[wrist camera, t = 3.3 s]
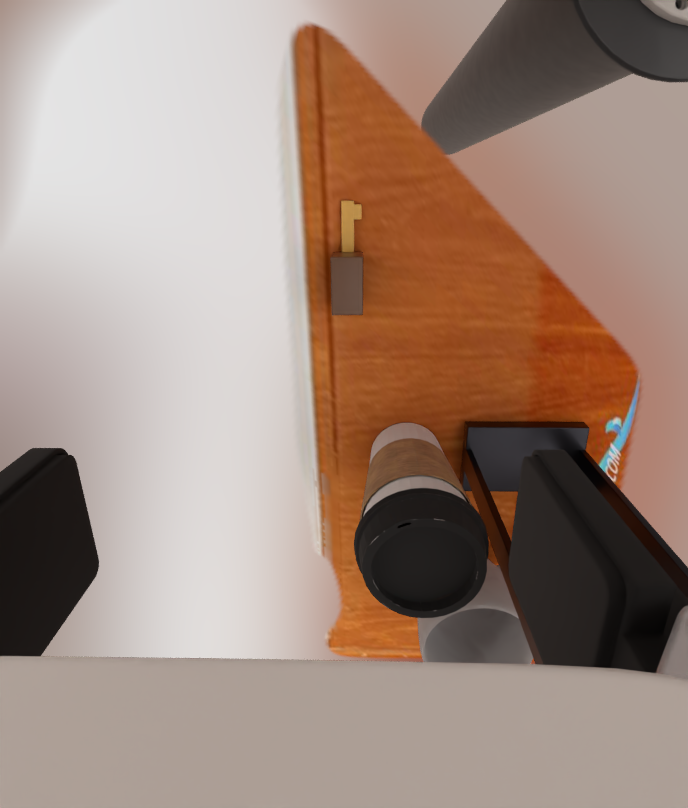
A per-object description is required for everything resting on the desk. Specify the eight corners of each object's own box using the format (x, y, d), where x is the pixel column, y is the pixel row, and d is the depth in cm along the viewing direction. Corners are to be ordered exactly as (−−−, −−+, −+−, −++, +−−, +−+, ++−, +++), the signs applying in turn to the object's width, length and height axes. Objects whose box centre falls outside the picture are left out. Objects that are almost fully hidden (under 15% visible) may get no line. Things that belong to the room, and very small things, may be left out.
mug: (427, 613, 50) (442, 703, 41) (396, 544, 47) (404, 625, 38) (548, 578, 48) (591, 665, 39) (524, 504, 45) (563, 580, 36)
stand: (465, 421, 42) (561, 633, 22) (583, 421, 42) (795, 638, 22) (459, 483, 45) (542, 729, 24) (572, 484, 44) (753, 735, 24)
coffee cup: (436, 393, 42) (474, 493, 28) (467, 478, 44) (515, 607, 31) (341, 427, 43) (330, 538, 29) (377, 507, 46) (383, 643, 32)
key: (362, 306, 39) (362, 315, 36) (334, 306, 39) (331, 315, 36) (363, 200, 36) (363, 201, 33) (332, 200, 36) (329, 201, 33)
